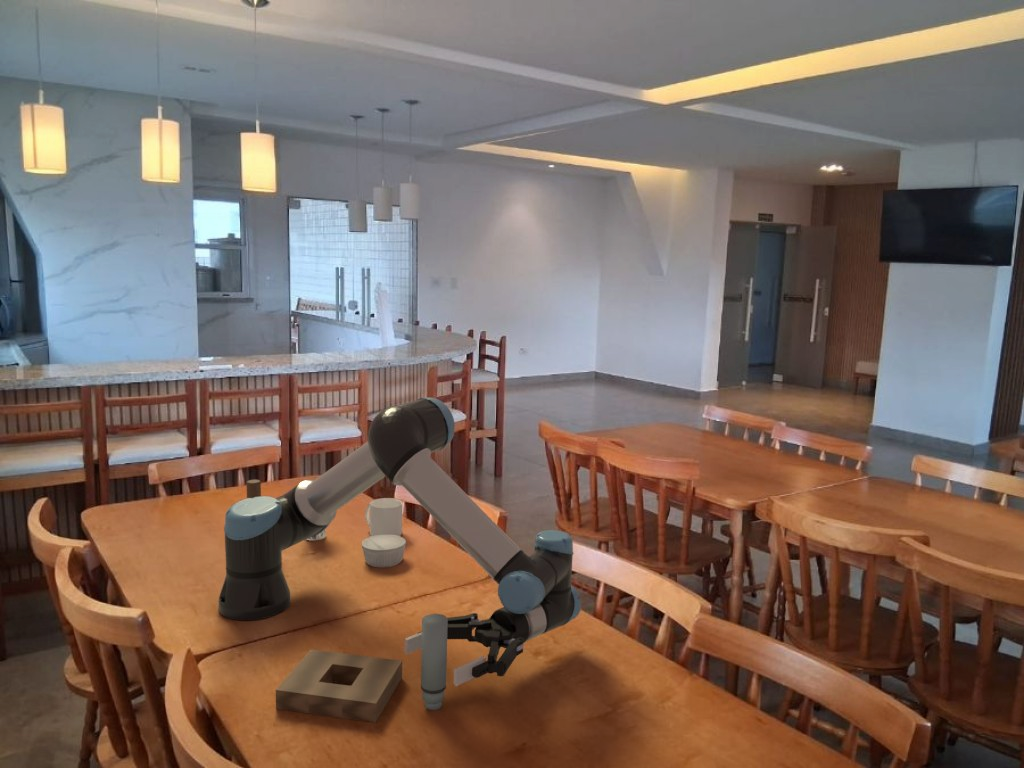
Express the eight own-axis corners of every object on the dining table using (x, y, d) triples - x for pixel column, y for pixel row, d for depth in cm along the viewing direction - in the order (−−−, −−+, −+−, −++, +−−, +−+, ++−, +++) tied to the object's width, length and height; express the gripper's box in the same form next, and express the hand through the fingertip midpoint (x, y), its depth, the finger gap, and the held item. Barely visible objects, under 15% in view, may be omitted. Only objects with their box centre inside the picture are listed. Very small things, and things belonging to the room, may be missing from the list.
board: (275, 708, 128) (275, 689, 128) (311, 666, 142) (311, 649, 141) (375, 722, 125) (375, 703, 125) (402, 678, 139) (402, 660, 138)
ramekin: (353, 565, 190) (353, 545, 189) (376, 550, 200) (376, 531, 199) (391, 573, 186) (391, 552, 185) (413, 557, 196) (413, 538, 195)
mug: (408, 534, 212) (409, 503, 211) (383, 542, 205) (383, 510, 204) (382, 524, 220) (382, 493, 219) (357, 531, 213) (357, 500, 212)
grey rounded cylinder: (417, 710, 129) (418, 624, 126) (424, 696, 133) (426, 612, 131) (442, 714, 128) (443, 627, 126) (448, 699, 133) (450, 615, 130)
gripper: (564, 667, 135) (477, 713, 120) (473, 618, 152) (387, 653, 138) (566, 628, 134) (478, 670, 119) (474, 583, 151) (387, 615, 136)
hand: (429, 661), depth 128 cm, fingers open, 13 cm apart
